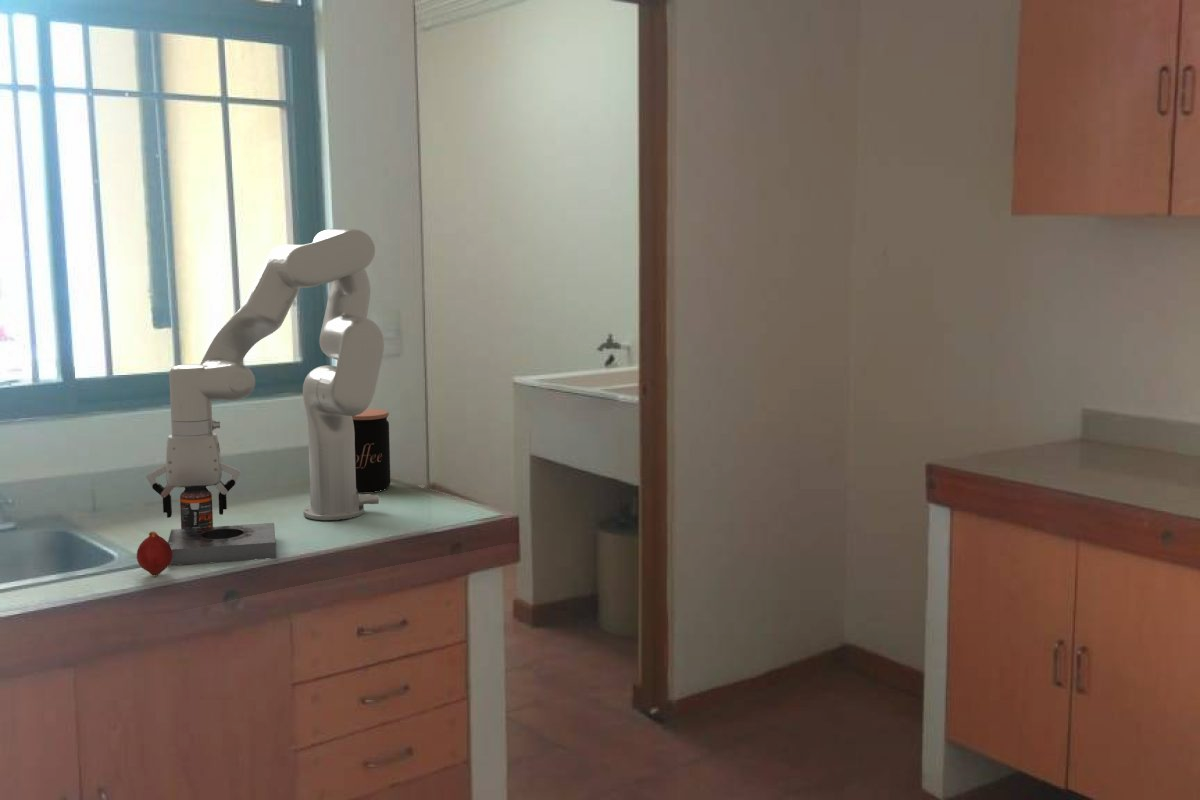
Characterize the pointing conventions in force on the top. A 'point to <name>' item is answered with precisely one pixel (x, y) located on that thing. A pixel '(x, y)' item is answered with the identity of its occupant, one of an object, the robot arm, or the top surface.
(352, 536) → the top surface
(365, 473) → the coffee jar
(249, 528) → the jig plate
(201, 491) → the supplement bottle
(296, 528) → the top surface
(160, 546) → the onion
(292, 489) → the top surface
